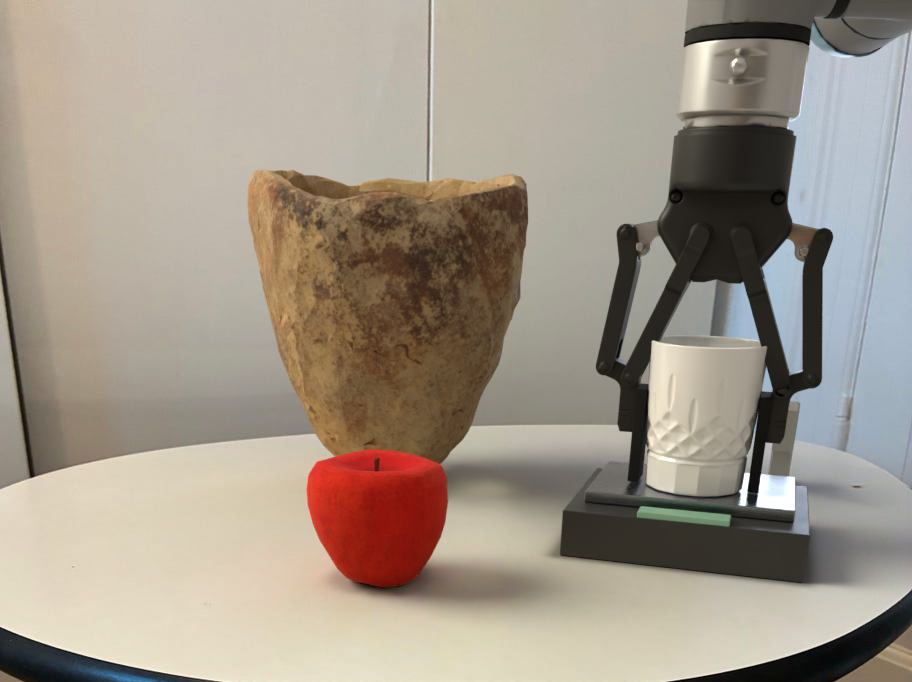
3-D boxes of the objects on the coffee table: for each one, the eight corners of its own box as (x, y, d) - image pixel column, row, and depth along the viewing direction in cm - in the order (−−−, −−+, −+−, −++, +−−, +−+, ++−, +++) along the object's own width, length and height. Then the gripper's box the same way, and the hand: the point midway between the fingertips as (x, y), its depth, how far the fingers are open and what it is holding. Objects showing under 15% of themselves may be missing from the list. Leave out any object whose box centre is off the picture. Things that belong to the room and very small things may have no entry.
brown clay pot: (244, 509, 80) (225, 158, 71) (275, 450, 101) (263, 172, 92) (528, 511, 81) (548, 165, 72) (501, 452, 102) (513, 177, 92)
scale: (801, 527, 79) (808, 481, 77) (802, 582, 66) (811, 529, 65) (594, 506, 83) (597, 462, 82) (559, 555, 71) (562, 504, 69)
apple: (310, 556, 69) (306, 441, 66) (439, 555, 70) (441, 441, 67) (307, 602, 61) (304, 473, 58) (453, 599, 62) (457, 472, 59)
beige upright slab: (767, 479, 93) (780, 390, 90) (787, 481, 93) (801, 391, 90) (764, 497, 87) (778, 402, 84) (785, 499, 86) (800, 404, 83)
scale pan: (793, 487, 77) (795, 477, 77) (793, 522, 68) (795, 510, 67) (608, 470, 81) (608, 460, 80) (584, 501, 72) (584, 490, 71)
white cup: (614, 483, 73) (627, 339, 70) (679, 468, 78) (695, 333, 75) (707, 506, 68) (726, 351, 64) (771, 488, 73) (793, 343, 69)
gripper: (564, 122, 64) (541, 480, 73) (917, 119, 58) (847, 510, 67) (585, 131, 71) (562, 459, 79) (905, 130, 65) (842, 484, 74)
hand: (693, 482), depth 73 cm, fingers closed on white cup, 8 cm apart
